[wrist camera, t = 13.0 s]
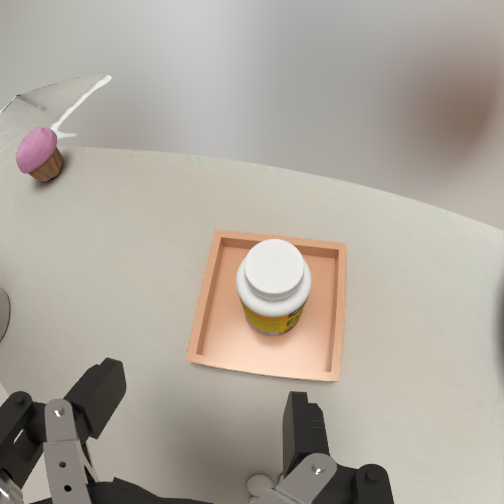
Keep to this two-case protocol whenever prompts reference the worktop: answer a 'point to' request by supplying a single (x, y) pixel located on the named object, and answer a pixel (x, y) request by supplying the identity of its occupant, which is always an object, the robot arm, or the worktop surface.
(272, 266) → the supplement bottle
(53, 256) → the worktop surface
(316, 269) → the terracotta dish
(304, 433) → the robot arm
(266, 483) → the pebbles
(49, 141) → the cupcake
